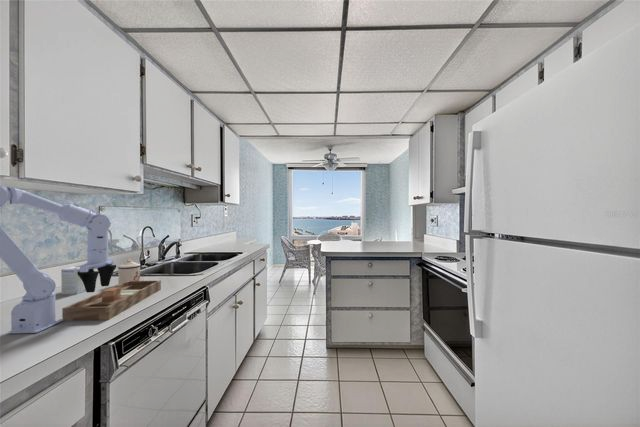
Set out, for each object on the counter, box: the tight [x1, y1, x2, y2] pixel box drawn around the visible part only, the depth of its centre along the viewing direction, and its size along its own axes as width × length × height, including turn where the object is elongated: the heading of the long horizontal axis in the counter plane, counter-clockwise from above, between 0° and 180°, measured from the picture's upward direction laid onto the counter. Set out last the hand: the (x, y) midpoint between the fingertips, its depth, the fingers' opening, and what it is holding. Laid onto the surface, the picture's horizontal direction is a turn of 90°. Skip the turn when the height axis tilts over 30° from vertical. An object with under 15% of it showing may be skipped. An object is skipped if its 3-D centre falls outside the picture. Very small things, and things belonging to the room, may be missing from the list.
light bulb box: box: [60, 264, 95, 295], centre depth 126 cm, size 11×7×11 cm, turn 5°
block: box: [101, 287, 121, 302], centre depth 105 cm, size 4×4×4 cm
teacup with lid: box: [117, 259, 141, 285], centre depth 139 cm, size 12×9×12 cm
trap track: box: [61, 280, 162, 322], centre depth 110 cm, size 36×14×4 cm, turn 5°
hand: (98, 289), depth 99 cm, fingers open, 7 cm apart
